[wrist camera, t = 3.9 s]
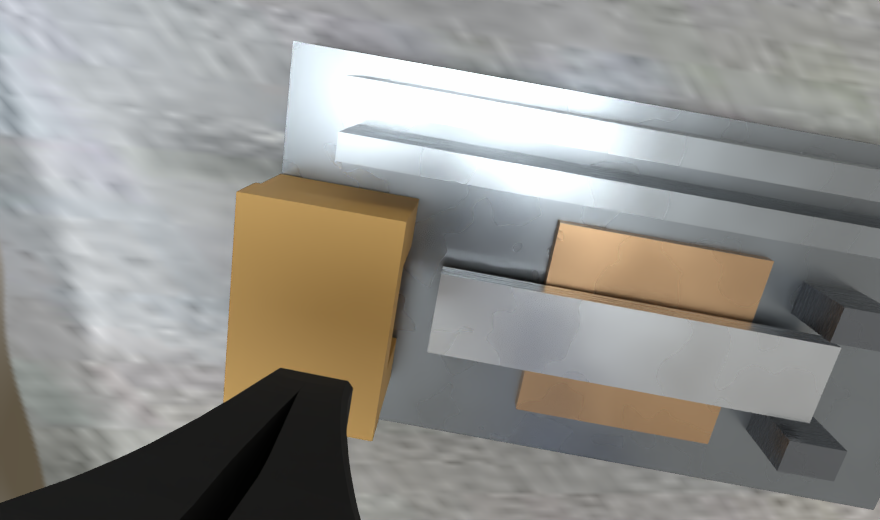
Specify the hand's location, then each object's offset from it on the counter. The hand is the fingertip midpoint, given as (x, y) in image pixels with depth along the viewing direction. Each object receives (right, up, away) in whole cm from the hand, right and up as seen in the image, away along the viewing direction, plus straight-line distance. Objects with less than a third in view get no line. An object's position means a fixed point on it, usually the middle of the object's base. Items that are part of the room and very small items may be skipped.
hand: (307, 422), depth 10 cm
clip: (-1, +2, +7) cm, 7 cm away
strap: (+8, +1, +7) cm, 10 cm away
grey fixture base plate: (+8, +2, +9) cm, 12 cm away
